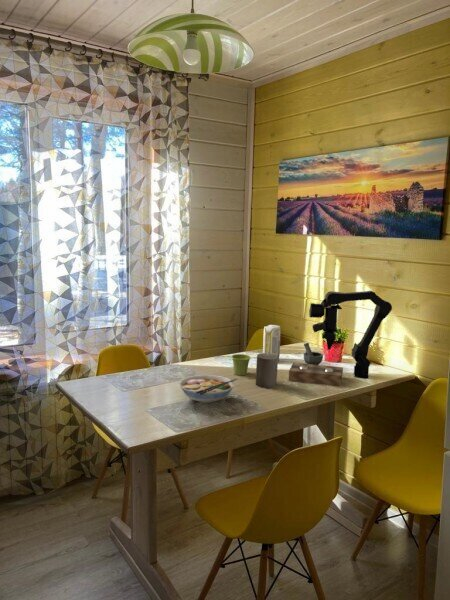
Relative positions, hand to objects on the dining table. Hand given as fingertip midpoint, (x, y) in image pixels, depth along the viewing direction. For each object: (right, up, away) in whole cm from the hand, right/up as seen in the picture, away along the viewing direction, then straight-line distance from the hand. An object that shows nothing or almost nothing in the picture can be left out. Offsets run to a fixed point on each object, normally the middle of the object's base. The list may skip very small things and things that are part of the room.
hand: (329, 349), depth 246 cm
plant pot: (-43, -12, +1) cm, 45 cm away
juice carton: (-26, -9, +25) cm, 37 cm away
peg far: (-13, -13, -3) cm, 19 cm away
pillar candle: (-32, -15, -14) cm, 38 cm away
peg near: (-1, -14, -6) cm, 15 cm away
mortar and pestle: (-6, -11, +16) cm, 20 cm away
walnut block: (-7, -14, -4) cm, 16 cm away
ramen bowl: (-58, -18, -36) cm, 71 cm away
